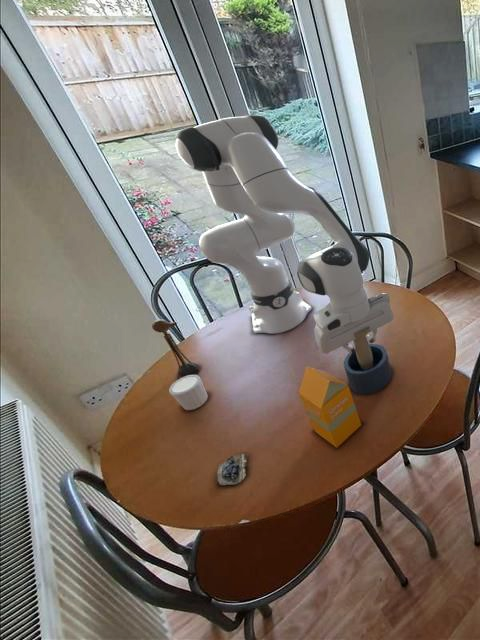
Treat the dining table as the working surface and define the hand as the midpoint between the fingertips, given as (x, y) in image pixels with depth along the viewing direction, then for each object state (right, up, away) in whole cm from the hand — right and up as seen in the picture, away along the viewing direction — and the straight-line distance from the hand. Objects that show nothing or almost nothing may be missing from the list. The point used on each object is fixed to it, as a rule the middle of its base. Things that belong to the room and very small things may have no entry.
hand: (361, 346), depth 110 cm
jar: (0, -11, +6) cm, 12 cm away
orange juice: (-3, -19, -8) cm, 21 cm away
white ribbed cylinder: (-46, -15, 0) cm, 48 cm away
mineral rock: (-23, -25, -17) cm, 38 cm away
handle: (0, -7, +4) cm, 8 cm away
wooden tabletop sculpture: (-55, -10, +9) cm, 56 cm away
